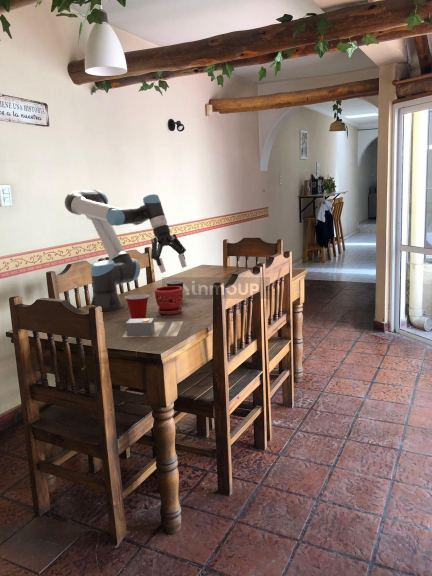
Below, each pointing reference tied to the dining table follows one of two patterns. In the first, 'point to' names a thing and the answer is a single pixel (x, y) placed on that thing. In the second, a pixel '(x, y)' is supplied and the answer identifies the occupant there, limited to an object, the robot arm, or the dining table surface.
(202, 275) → the dining table surface
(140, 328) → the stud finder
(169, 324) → the plywood panel
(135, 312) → the plastic cup
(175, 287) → the plant pot
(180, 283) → the coffee mug
